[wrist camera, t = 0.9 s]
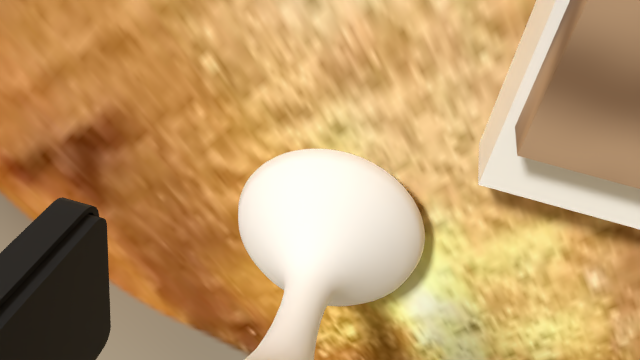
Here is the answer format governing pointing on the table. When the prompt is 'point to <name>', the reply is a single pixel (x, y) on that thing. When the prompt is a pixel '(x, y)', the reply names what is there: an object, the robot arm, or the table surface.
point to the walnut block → (588, 94)
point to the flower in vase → (325, 239)
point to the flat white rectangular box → (533, 176)
